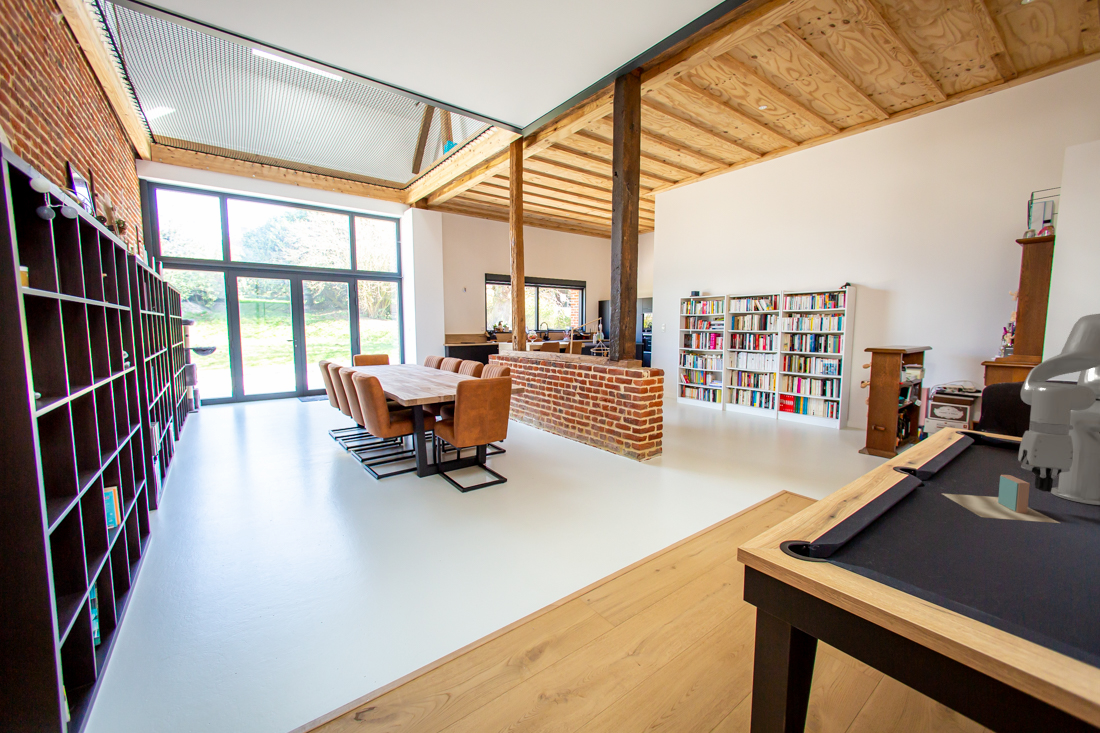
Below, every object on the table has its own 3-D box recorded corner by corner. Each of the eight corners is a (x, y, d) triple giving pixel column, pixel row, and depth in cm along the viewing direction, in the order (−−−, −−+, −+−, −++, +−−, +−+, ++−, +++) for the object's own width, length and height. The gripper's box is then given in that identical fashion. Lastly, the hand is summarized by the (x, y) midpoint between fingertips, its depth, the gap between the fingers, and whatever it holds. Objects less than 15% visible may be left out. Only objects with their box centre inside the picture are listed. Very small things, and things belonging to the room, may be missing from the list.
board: (1008, 500, 136) (1008, 497, 136) (1060, 526, 119) (1060, 523, 119) (940, 496, 140) (941, 493, 140) (981, 520, 123) (981, 517, 123)
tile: (1007, 503, 132) (1010, 475, 131) (1027, 513, 125) (1029, 483, 124) (997, 503, 132) (999, 474, 131) (1015, 512, 125) (1018, 482, 125)
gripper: (1069, 426, 127) (1063, 487, 128) (1006, 424, 130) (1001, 483, 132) (1094, 432, 119) (1087, 497, 121) (1027, 430, 123) (1022, 492, 124)
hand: (1043, 489), depth 126 cm, fingers closed
